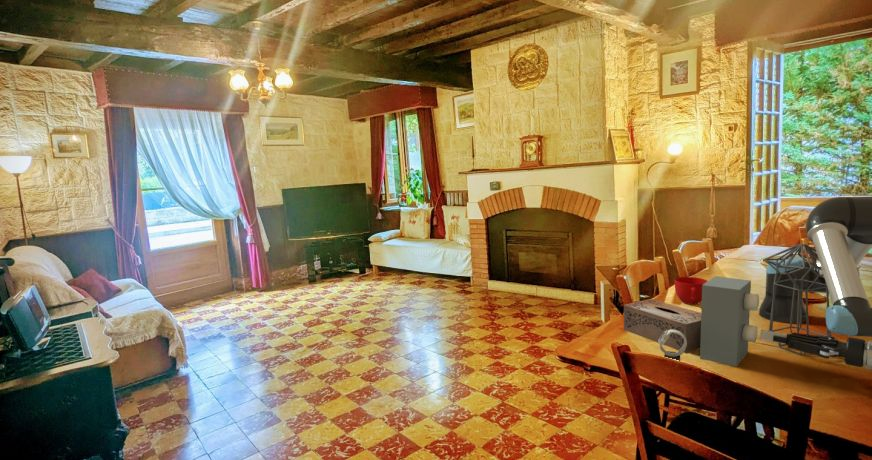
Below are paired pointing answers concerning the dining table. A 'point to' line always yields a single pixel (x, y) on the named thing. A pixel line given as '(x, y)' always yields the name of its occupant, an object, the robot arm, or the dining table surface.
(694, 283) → the ceramic cup
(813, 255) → the geometric lantern
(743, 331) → the lower knob
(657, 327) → the tissue box cover
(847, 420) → the dining table surface
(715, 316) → the knob mount
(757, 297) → the upper knob
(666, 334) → the watch
